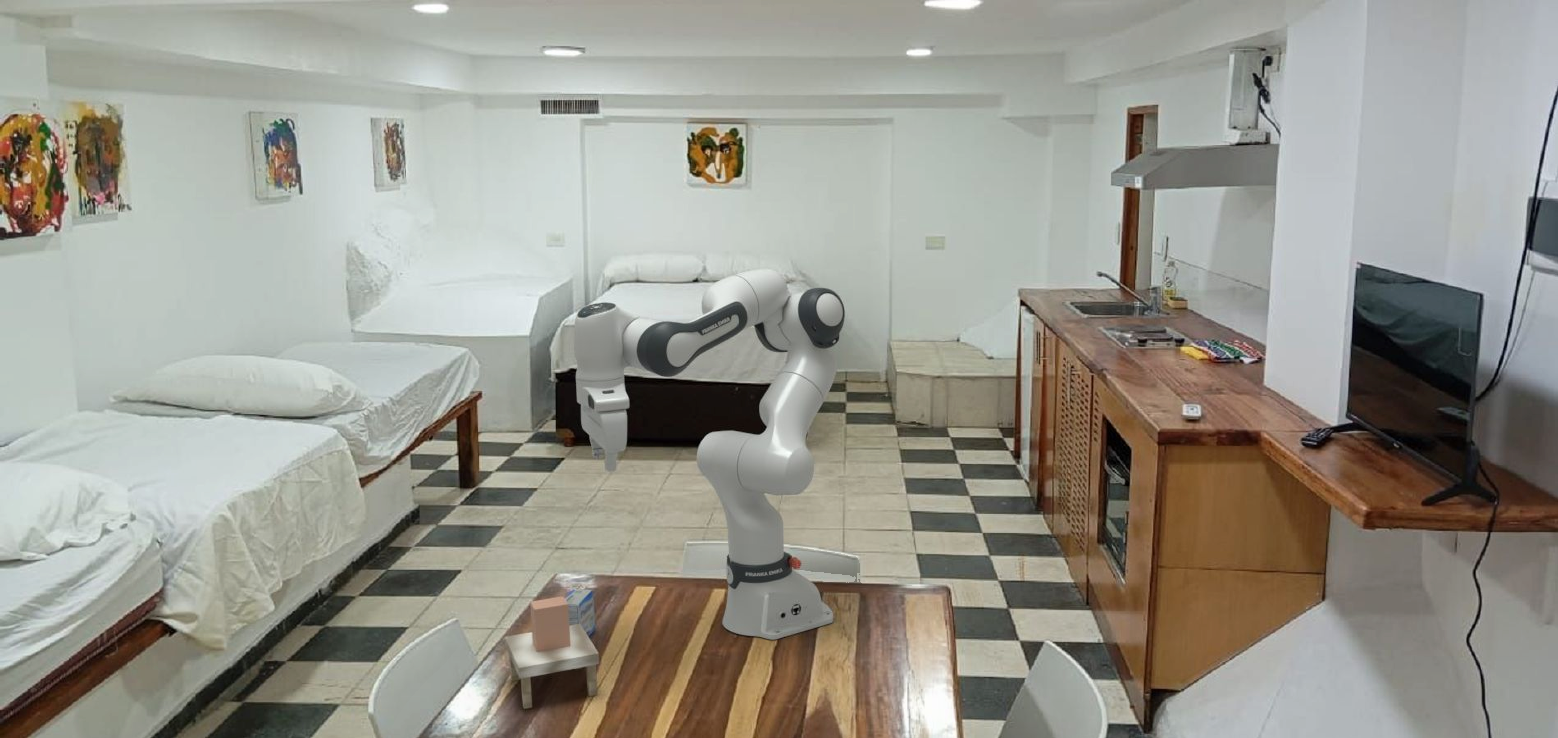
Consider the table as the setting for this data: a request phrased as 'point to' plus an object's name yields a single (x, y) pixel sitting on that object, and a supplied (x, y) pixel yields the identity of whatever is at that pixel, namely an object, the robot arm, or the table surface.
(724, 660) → the table surface
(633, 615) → the table surface
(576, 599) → the medicine box
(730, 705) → the table surface
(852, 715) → the table surface
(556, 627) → the block
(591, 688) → the footstool
